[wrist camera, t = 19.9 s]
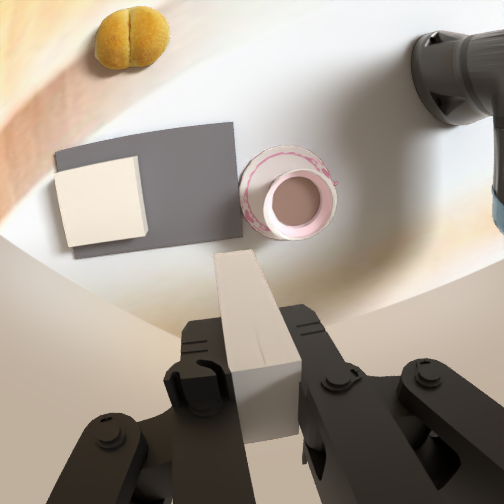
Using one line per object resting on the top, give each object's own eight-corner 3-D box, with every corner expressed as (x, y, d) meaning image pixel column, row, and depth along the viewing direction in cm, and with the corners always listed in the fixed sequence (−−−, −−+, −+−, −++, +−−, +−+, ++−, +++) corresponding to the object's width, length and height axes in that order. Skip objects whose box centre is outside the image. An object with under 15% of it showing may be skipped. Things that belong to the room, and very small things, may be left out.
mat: (57, 151, 32) (55, 152, 32) (232, 122, 35) (233, 121, 34) (77, 257, 37) (75, 258, 37) (241, 235, 40) (242, 237, 39)
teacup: (265, 255, 42) (276, 275, 36) (220, 174, 37) (223, 181, 31) (344, 211, 41) (365, 224, 35) (307, 128, 36) (326, 128, 31)
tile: (137, 155, 34) (62, 170, 33) (133, 157, 31) (53, 173, 30) (148, 229, 37) (76, 240, 36) (145, 236, 35) (68, 247, 33)
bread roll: (170, 65, 31) (167, 57, 28) (98, 74, 30) (87, 69, 26) (172, 6, 28) (170, -7, 24) (101, 16, 27) (92, 6, 23)
